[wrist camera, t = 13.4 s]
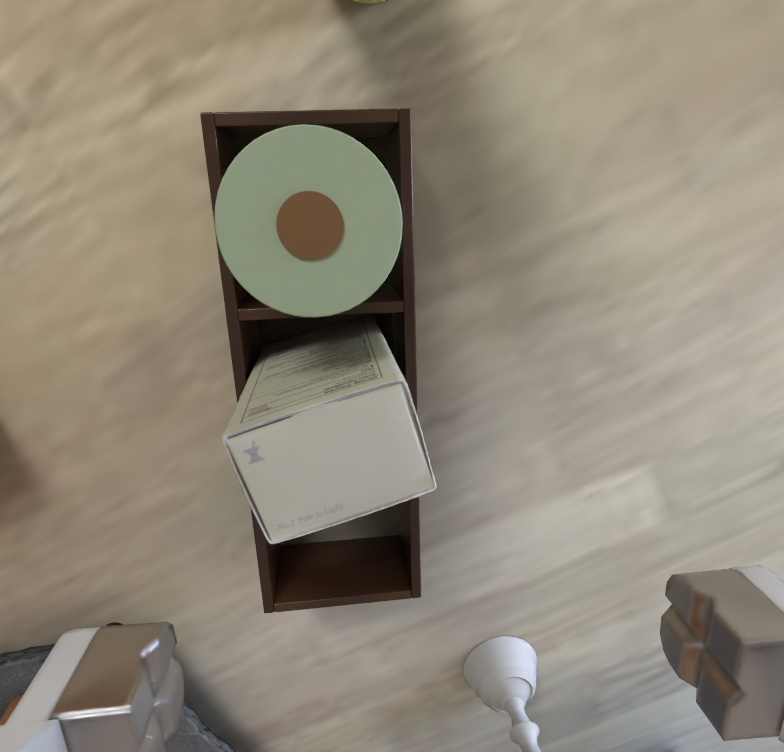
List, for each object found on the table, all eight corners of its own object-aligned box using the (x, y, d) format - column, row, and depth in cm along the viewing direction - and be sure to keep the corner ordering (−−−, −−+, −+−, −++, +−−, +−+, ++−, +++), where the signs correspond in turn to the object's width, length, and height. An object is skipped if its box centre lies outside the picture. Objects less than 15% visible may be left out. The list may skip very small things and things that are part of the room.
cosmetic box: (288, 417, 30) (262, 553, 18) (259, 342, 28) (211, 438, 17) (399, 383, 30) (441, 496, 18) (375, 306, 29) (405, 377, 17)
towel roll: (372, 152, 26) (400, 121, 16) (377, 270, 28) (405, 313, 18) (253, 155, 26) (201, 125, 15) (266, 276, 28) (226, 323, 17)
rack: (396, 124, 26) (411, 108, 21) (408, 540, 33) (421, 597, 28) (224, 128, 25) (199, 112, 21) (273, 553, 32) (264, 613, 28)
